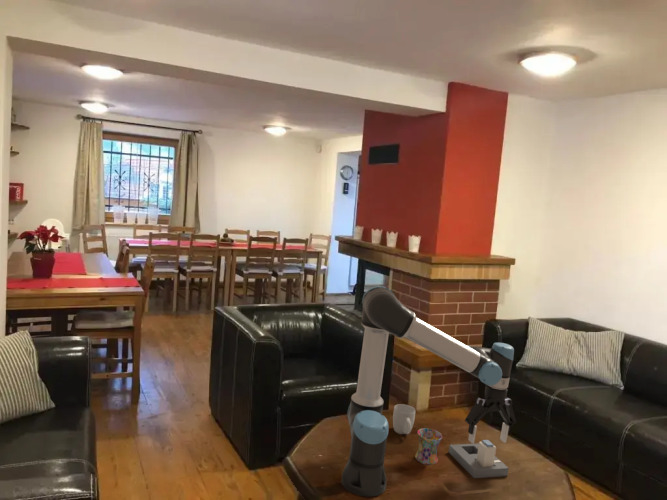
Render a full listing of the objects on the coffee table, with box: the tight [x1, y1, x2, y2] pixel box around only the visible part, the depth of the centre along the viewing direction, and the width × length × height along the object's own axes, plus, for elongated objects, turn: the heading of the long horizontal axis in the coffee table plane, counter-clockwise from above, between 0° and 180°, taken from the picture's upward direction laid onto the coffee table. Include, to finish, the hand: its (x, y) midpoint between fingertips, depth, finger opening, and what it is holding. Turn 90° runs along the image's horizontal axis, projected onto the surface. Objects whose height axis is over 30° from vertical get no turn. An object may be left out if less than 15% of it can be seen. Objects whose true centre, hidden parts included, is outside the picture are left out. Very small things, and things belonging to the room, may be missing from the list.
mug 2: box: [414, 427, 443, 466], centre depth 195 cm, size 12×9×11 cm
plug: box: [476, 439, 497, 467], centre depth 189 cm, size 4×4×11 cm
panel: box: [448, 442, 510, 479], centre depth 194 cm, size 14×18×4 cm
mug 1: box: [392, 403, 416, 435], centre depth 214 cm, size 13×9×10 cm
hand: (487, 441), depth 189 cm, fingers open, 13 cm apart
